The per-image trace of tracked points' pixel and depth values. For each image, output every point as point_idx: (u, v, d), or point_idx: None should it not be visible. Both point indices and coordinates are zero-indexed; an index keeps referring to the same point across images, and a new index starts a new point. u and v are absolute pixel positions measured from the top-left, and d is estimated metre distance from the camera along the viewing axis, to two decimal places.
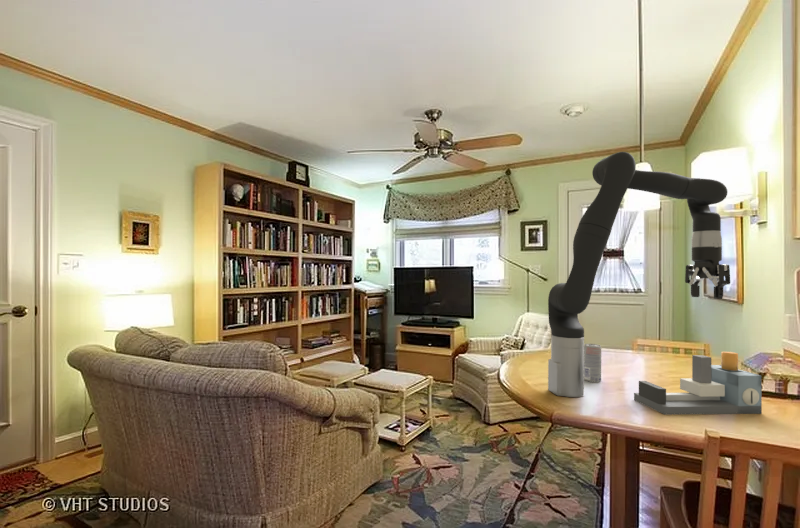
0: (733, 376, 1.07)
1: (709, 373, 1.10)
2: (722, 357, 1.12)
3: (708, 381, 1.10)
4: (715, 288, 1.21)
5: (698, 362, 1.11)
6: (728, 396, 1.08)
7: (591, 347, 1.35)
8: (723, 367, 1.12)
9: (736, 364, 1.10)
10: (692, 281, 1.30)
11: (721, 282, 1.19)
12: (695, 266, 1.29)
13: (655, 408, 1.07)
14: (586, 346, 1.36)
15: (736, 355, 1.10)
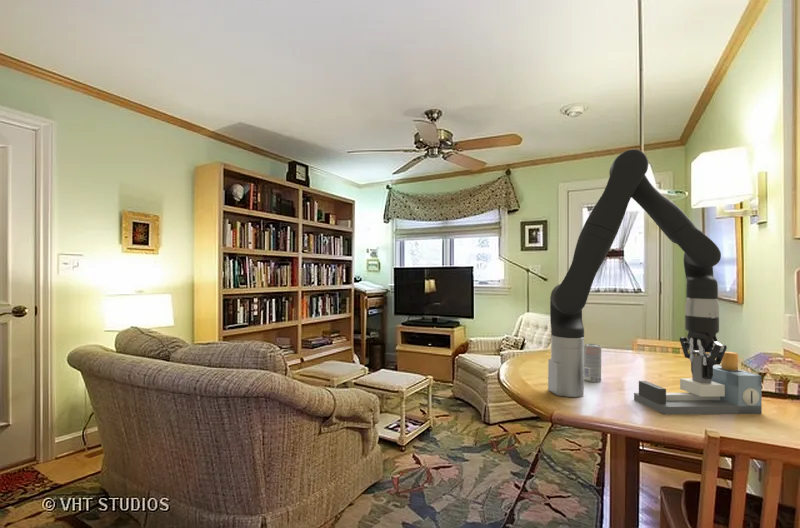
0: (733, 376, 1.07)
1: None
2: None
3: (708, 381, 1.10)
4: (704, 367, 1.09)
5: (698, 362, 1.11)
6: (728, 396, 1.08)
7: (591, 347, 1.35)
8: (723, 367, 1.12)
9: (736, 364, 1.10)
10: None
11: (710, 362, 1.07)
12: (689, 335, 1.15)
13: (655, 408, 1.07)
14: (586, 346, 1.36)
15: (736, 355, 1.10)
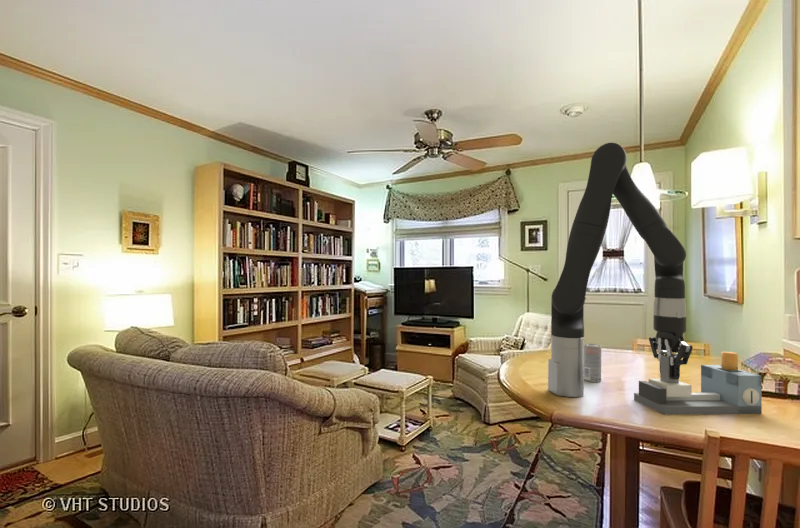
0: (733, 376, 1.07)
1: None
2: (722, 357, 1.12)
3: (675, 381, 1.09)
4: (671, 367, 1.09)
5: (665, 362, 1.10)
6: (728, 396, 1.08)
7: (591, 347, 1.35)
8: (723, 367, 1.12)
9: (736, 364, 1.10)
10: None
11: (676, 362, 1.06)
12: (657, 335, 1.14)
13: (655, 408, 1.07)
14: (586, 346, 1.36)
15: (736, 355, 1.10)
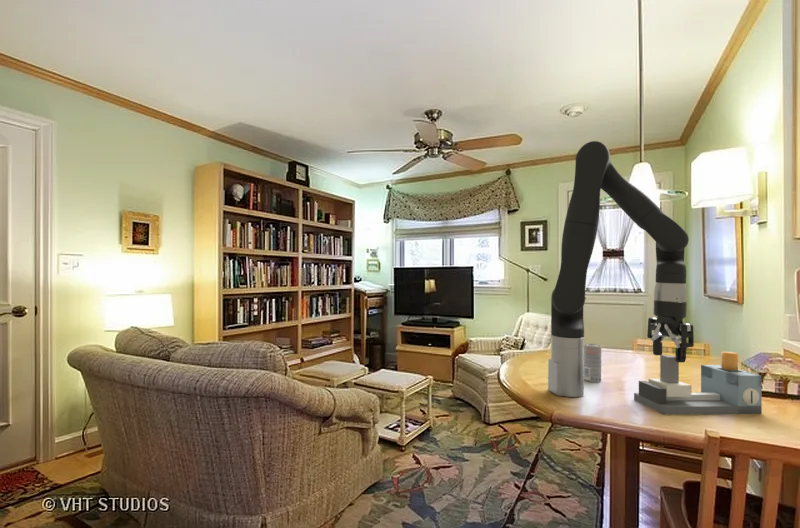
0: (733, 376, 1.07)
1: (676, 373, 1.09)
2: (722, 357, 1.12)
3: (675, 381, 1.09)
4: (677, 350, 1.06)
5: (665, 362, 1.10)
6: (728, 396, 1.08)
7: (591, 347, 1.35)
8: (723, 367, 1.12)
9: (736, 364, 1.10)
10: (654, 337, 1.15)
11: (683, 344, 1.04)
12: (658, 321, 1.14)
13: (655, 408, 1.07)
14: (586, 346, 1.36)
15: (736, 355, 1.10)
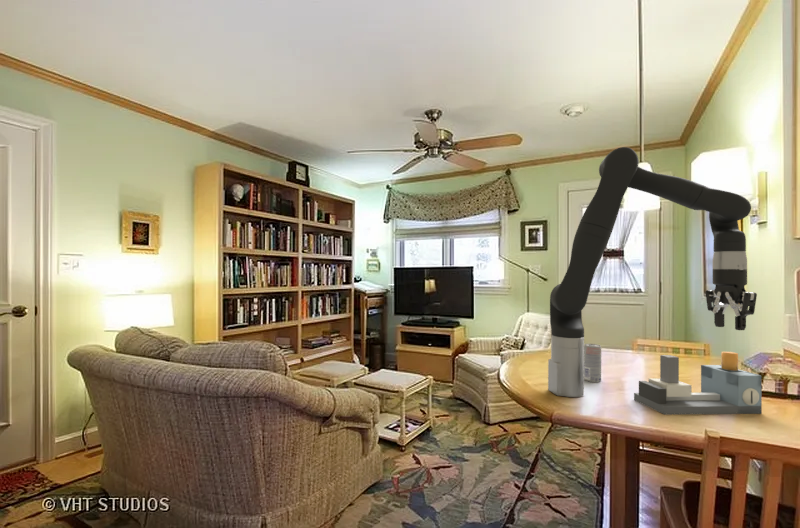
0: (733, 376, 1.07)
1: (676, 373, 1.09)
2: (722, 357, 1.12)
3: (675, 381, 1.09)
4: (737, 318, 1.09)
5: (665, 362, 1.10)
6: (728, 396, 1.08)
7: (591, 347, 1.35)
8: (723, 367, 1.12)
9: (736, 364, 1.10)
10: (716, 309, 1.15)
11: (744, 312, 1.07)
12: (716, 290, 1.15)
13: (655, 408, 1.07)
14: (586, 346, 1.37)
15: (736, 355, 1.10)
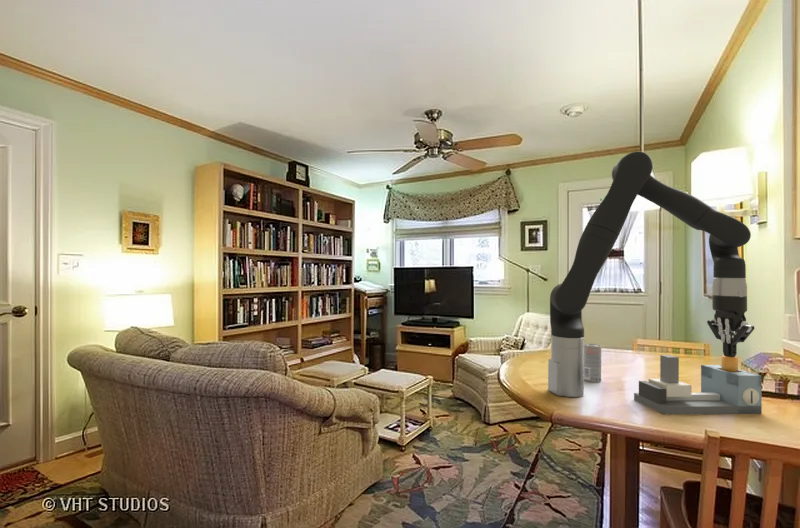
0: (733, 376, 1.07)
1: (676, 373, 1.09)
2: (722, 361, 1.12)
3: (675, 381, 1.09)
4: (727, 345, 1.11)
5: (665, 362, 1.10)
6: (728, 396, 1.08)
7: (591, 347, 1.35)
8: None
9: (736, 368, 1.10)
10: (725, 338, 1.12)
11: (734, 340, 1.09)
12: (716, 315, 1.15)
13: (655, 408, 1.07)
14: (586, 346, 1.36)
15: (736, 359, 1.10)
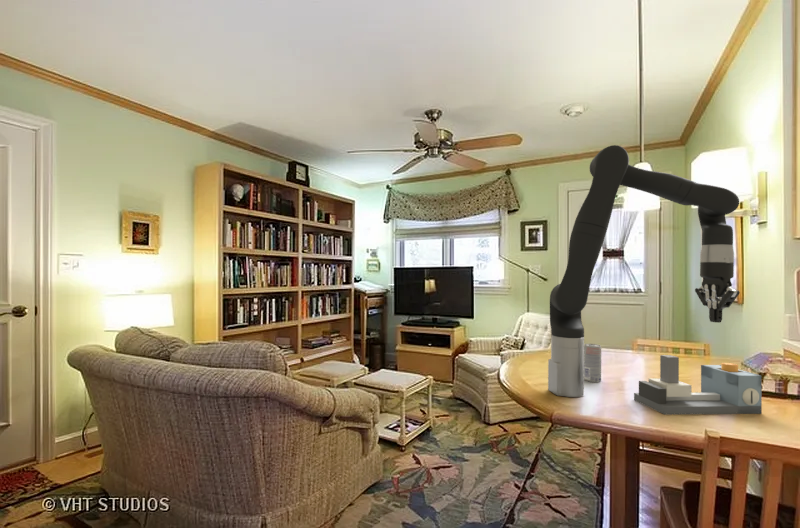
0: (733, 376, 1.07)
1: (676, 373, 1.09)
2: (722, 368, 1.12)
3: (675, 381, 1.09)
4: (713, 311, 1.14)
5: (665, 362, 1.10)
6: (728, 396, 1.08)
7: (591, 347, 1.35)
8: None
9: None
10: (711, 304, 1.15)
11: (720, 305, 1.12)
12: (703, 283, 1.18)
13: (655, 408, 1.07)
14: (586, 346, 1.36)
15: (736, 367, 1.10)
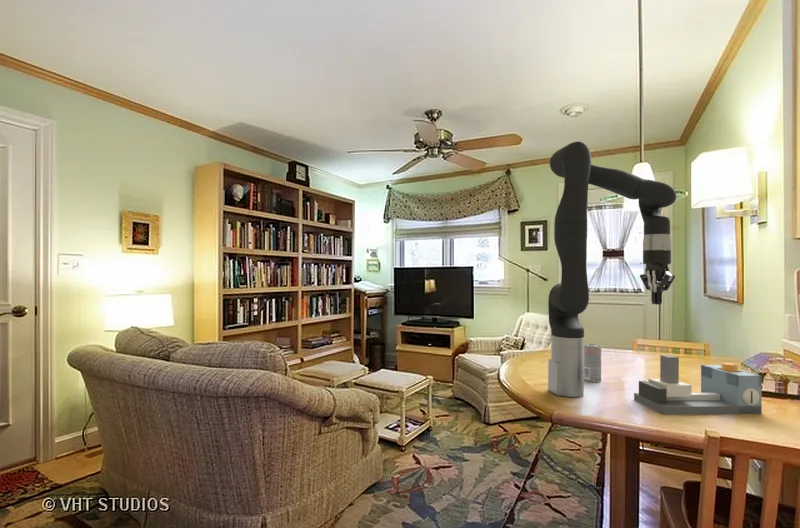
0: (733, 376, 1.07)
1: (676, 373, 1.09)
2: (722, 368, 1.12)
3: (675, 381, 1.09)
4: (654, 294, 1.26)
5: (665, 362, 1.10)
6: (728, 396, 1.08)
7: (591, 347, 1.35)
8: None
9: None
10: (652, 288, 1.27)
11: (659, 289, 1.24)
12: (646, 269, 1.30)
13: (655, 408, 1.07)
14: (586, 346, 1.36)
15: (736, 367, 1.10)
